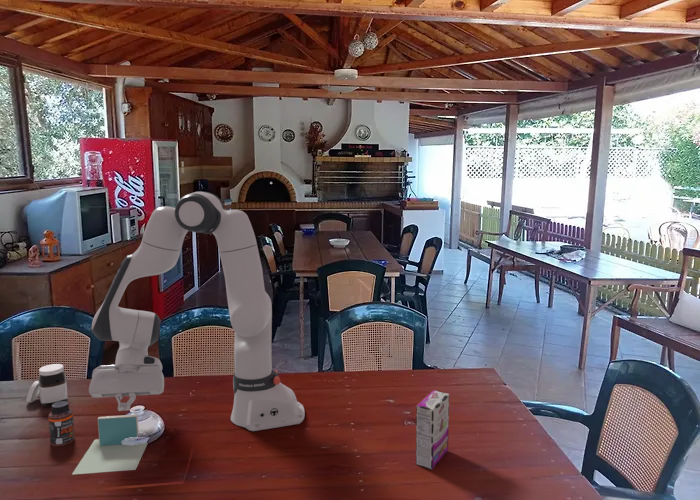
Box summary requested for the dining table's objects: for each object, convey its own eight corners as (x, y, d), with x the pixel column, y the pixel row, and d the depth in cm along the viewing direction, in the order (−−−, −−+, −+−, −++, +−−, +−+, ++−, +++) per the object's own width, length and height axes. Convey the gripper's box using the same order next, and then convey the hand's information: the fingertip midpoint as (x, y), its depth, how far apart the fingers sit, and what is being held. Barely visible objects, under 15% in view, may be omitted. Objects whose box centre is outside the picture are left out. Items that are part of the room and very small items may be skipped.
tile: (139, 441, 142) (137, 414, 141) (138, 443, 141) (136, 416, 140) (100, 444, 141) (98, 416, 140) (99, 446, 140) (97, 418, 138)
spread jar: (69, 404, 166) (66, 370, 164) (28, 413, 160) (24, 377, 158) (65, 391, 176) (62, 358, 174) (26, 399, 169) (23, 365, 168)
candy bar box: (431, 445, 142) (433, 389, 139) (448, 450, 139) (450, 393, 137) (414, 464, 132) (415, 404, 130) (432, 470, 130) (434, 409, 127)
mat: (151, 437, 146) (151, 435, 146) (135, 471, 129) (135, 469, 129) (94, 441, 143) (94, 439, 143) (71, 476, 127) (71, 474, 127)
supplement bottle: (64, 449, 139) (61, 409, 137) (45, 447, 140) (41, 407, 139) (80, 438, 145) (77, 400, 143) (61, 436, 146) (58, 398, 144)
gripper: (90, 361, 150) (81, 408, 142) (164, 358, 153) (158, 404, 145) (97, 370, 155) (87, 415, 147) (167, 367, 158) (162, 411, 150)
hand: (123, 410), depth 146 cm, fingers closed
